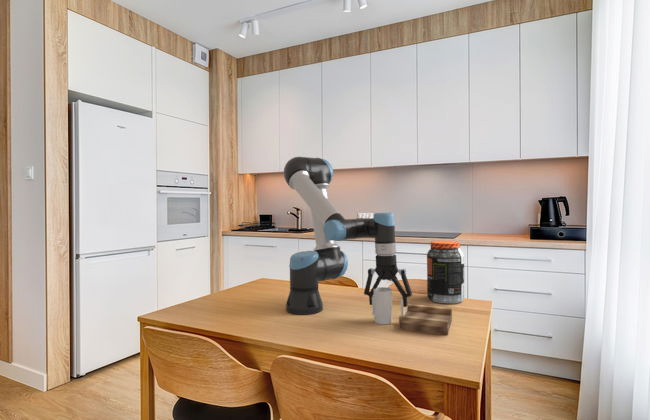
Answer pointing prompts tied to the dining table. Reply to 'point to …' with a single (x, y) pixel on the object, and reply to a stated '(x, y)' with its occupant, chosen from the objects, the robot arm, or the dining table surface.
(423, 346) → the dining table surface
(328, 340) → the dining table surface
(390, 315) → the mug
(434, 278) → the supplement tub
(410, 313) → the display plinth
